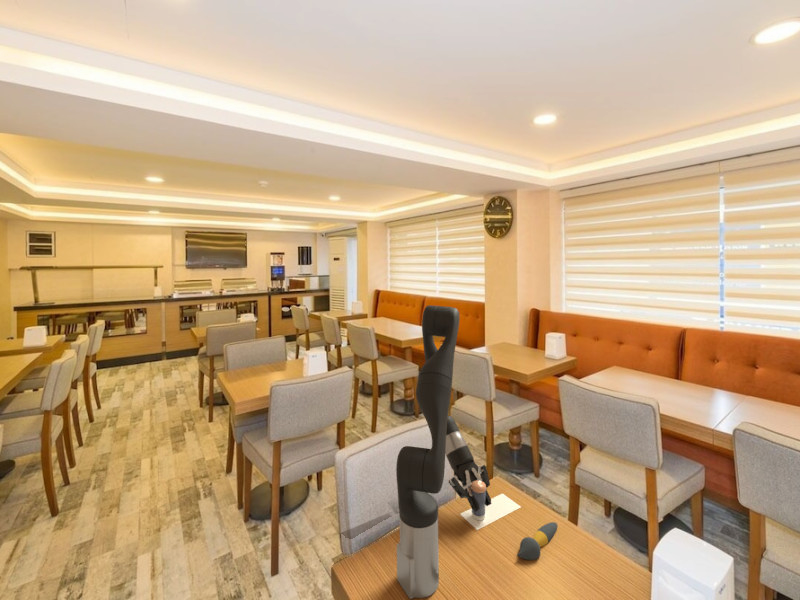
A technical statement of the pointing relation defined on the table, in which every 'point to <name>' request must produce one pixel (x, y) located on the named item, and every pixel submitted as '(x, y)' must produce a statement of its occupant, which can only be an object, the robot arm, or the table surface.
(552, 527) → the paintbrush
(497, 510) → the whiteboard
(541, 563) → the table surface
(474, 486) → the peach capped blue cylinder
